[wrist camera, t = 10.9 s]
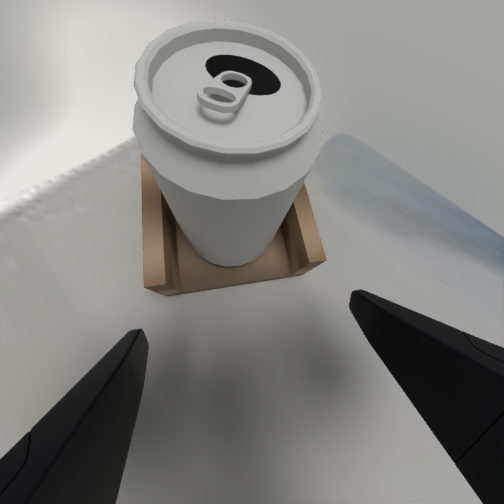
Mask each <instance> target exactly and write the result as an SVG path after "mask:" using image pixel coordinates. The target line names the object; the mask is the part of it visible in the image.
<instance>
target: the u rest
mask: <svg viewBox="0 0 504 504" xmlns="http://www.w3.org/2000/svg"><path fill="white" fill-rule="evenodd" d="M141 174H142V225H143V277H144V288H147V289H149V290H152V291H155V292H157V293H160V294H162V295H165V296H172V295H179V294H185V293H192V292H198V291H204V290H211V289H217V288H223V287H230V286H236V285H242V284H249V283H255V282H261V281H268V280H274V279H280V278H287V277H293V276H299V275H303V274H305V273H306V272H308V271H310V270H311V269H313V268H315V267H316V266H318V265H319V264H321V263H323V262H324V261H326V256H325V253H324V249H323V246H322V243H321V239H320V236H319V232H318V229H317V225H316V222H315V218H314V215H313V212H312V208H311V205H310V201H309V198H308V194H307V191H306V187H305V184H304V183H303V184H302V186H301V188H300V190H299V192H298V194H297V195H296V197H295V199H294V201H293V203H292V205H291V206H290V208H289V210H288V212H287V214H286V216H285V217H284V219H283V221H282V223H281V225H280V227H279V228H278V230H277V232H276V234H275V236H274V238H273V239H272V241H271V243H270V244H269V246H268V248H267V250H266V251H265V252H264V253H263V254H262V255H260V256H259V257H258V258H257V259H256V260H254V261H251V262H249V263H246V264H244V265H241V266H228V267H226V266H221V265H217V264H213V263H210V262H209V261H207V260H205V259H204V258H202V257H200V256H199V255H198V254H197V253H196V252H195V251H194V249H193V248H192V247H191V246H190V245H189V243H188V241H187V239H186V237H185V235H184V233H183V232H182V230H181V228H180V226H179V224H178V222H177V220H176V218H175V216H174V214H173V212H172V211H171V209H170V207H169V205H168V203H167V201H166V199H165V197H164V195H163V193H162V192H161V190H160V188H159V186H158V184H157V182H156V180H155V178H154V176H153V174H152V172H151V171H150V169H149V167H148V165H147V163H146V161H145V159H144V157H143V155H142V153H141Z"/></svg>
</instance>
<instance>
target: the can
mask: <svg viewBox="0 0 504 504" xmlns="http://www.w3.org/2000/svg"><path fill="white" fill-rule="evenodd" d="M134 88H135V90H136V93H137V96H138V100H137V102H136V104H135V108H134V119H133V131H134V134H135V137H136V139H137V142H138V145H139V148H140V151H141V153H142V155H143V157H144V159H145V161H146V163H147V165H148V167H149V169H150V171H151V172H152V174H153V176H154V178H155V180H156V182H157V184H158V186H159V188H160V190H161V192H162V193H163V195H164V197H165V199H166V201H167V203H168V205H169V207H170V209H171V211H172V212H173V214H174V216H175V218H176V220H177V222H178V224H179V226H180V228H181V230H182V232H183V233H184V235H185V237H186V239H187V241H188V243H189V245H190V246H191V247H192V248H193V249H194V251H195V252H196V253H197V254H198V255H199V256H200V257H202V258H204V259H205V260H207V261H209V262H210V263H213V264H217V265H221V266H226V267H228V266H241V265H244V264H246V263H249V262H251V261H254V260H256V259H257V258H258V257H259V256H260V255H262V254H263V253H264V252H265V251H266V250H267V248H268V246H269V244H270V243H271V241H272V239H273V238H274V236H275V234H276V232H277V230H278V228H279V227H280V225H281V223H282V221H283V219H284V217H285V216H286V214H287V212H288V210H289V208H290V206H291V205H292V203H293V201H294V199H295V197H296V195H297V194H298V192H299V190H300V188H301V186H302V184H303V183H304V181H305V179H306V177H307V175H308V173H309V172H310V170H311V168H312V166H313V164H314V162H315V161H316V159H317V157H318V155H319V153H320V147H321V140H322V127H321V123H320V120H319V115H320V111H321V104H322V97H323V91H322V88H321V84H320V81H319V77H318V74H317V72H316V70H315V69H314V68H313V66H312V65H311V63H310V62H309V61H308V59H307V58H306V56H305V55H304V54H303V53H302V52H301V51H300V50H298V49H297V48H296V47H295V46H293V45H292V44H291V43H290V42H289V41H287V40H286V39H284V38H282V37H280V36H278V35H276V34H274V33H272V32H270V31H268V30H266V29H264V28H261V27H257V26H253V25H249V24H246V23H242V22H237V21H225V20H206V21H197V22H189V23H186V24H183V25H181V26H178V27H175V28H172V29H169V30H167V31H165V32H164V33H163V34H162V35H160V36H159V37H157V38H156V39H154V40H153V41H152V42H150V43H149V44H148V46H147V47H146V49H145V50H144V52H143V54H142V55H141V57H140V58H139V60H138V61H137V63H136V67H135V77H134Z"/></svg>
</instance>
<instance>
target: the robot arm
mask: <svg viewBox="0 0 504 504" xmlns="http://www.w3.org/2000/svg"><path fill="white" fill-rule="evenodd" d="M349 308H350V310H351V312H352V314H353V316H354V317H355V319H356V321H357V323H358V324H359V326H360V328H361V330H362V331H363V333H364V335H365V337H366V338H367V340H368V341H369V343H370V344H371V346H372V347H373V349H374V350H375V351H376V353H377V354H378V356H379V357H380V358H381V360H382V361H383V363H384V364H385V366H386V367H387V368H388V370H389V371H390V373H391V374H392V375H393V377H394V378H395V380H396V381H397V383H398V384H399V385H400V387H401V388H402V390H403V391H404V392H405V394H406V395H407V397H408V398H409V399H410V401H411V402H412V404H413V405H414V407H415V408H416V409H417V411H418V412H419V414H420V415H421V416H422V418H423V419H424V421H425V422H426V424H427V425H428V426H429V428H430V429H431V431H432V432H433V433H434V435H435V436H436V438H437V439H438V440H439V442H440V443H441V445H442V446H443V448H444V449H445V450H446V452H447V453H448V455H449V456H450V457H451V459H452V460H453V462H454V463H455V465H456V466H457V468H458V469H459V470H460V472H461V473H462V475H463V476H464V478H465V479H466V480H467V482H468V483H469V485H470V486H471V487H472V489H473V490H474V492H475V493H476V494H477V496H478V497H479V499H480V500H481V502H482V503H483V504H504V348H503V347H500V346H498V345H495V344H492V343H490V342H487V341H485V340H482V339H480V338H478V337H475V336H473V335H470V334H468V333H466V332H463V331H460V330H458V329H456V328H453V327H451V326H449V325H446V324H444V323H441V322H439V321H437V320H434V319H432V318H429V317H427V316H425V315H422V314H420V313H417V312H415V311H413V310H410V309H408V308H405V307H403V306H401V305H398V304H396V303H393V302H391V301H388V300H386V299H384V298H381V297H379V296H376V295H374V294H372V293H369V292H367V291H364V290H355V291H353V292H352V293H351V298H350V302H349ZM148 349H149V345H148V341H147V339H146V336H145V334H144V331H143V330H142V329H135V330H130V331H129V332H128V333H127V334H126V335H125V336H124V337H123V338H122V339H121V340H120V341H119V342H118V343H117V344H116V345H115V346H114V347H113V348H112V349H111V350H110V351H109V352H108V353H107V354H106V355H105V356H104V357H103V358H102V359H101V360H100V361H99V362H98V363H97V364H96V365H95V366H94V367H93V368H92V369H91V370H90V371H89V372H88V373H87V374H86V375H85V376H84V377H83V378H82V379H81V380H80V381H79V382H78V383H77V384H76V385H75V386H74V387H73V388H72V389H71V390H70V391H69V392H68V393H67V394H66V395H65V396H64V397H63V398H62V399H61V400H60V401H59V402H58V403H57V404H56V405H55V406H54V407H53V408H52V409H51V410H50V411H49V412H48V413H47V414H46V415H45V416H44V417H43V418H42V419H41V420H40V421H39V422H38V423H37V424H36V425H35V426H34V427H33V428H32V429H31V431H29V432H27V433H26V434H25V435H24V436H23V437H22V438H21V439H20V440H19V441H18V442H17V443H16V444H15V445H14V446H13V447H12V448H11V449H10V450H9V451H8V452H7V453H6V454H5V455H4V456H3V457H2V458H1V459H0V504H116V500H117V496H118V492H119V488H120V484H121V480H122V476H123V471H124V467H125V463H126V459H127V455H128V451H129V447H130V442H131V438H132V434H133V430H134V426H135V422H136V418H137V413H138V409H139V405H140V401H141V397H142V392H143V387H144V380H145V372H146V365H147V357H148Z"/></svg>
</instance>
